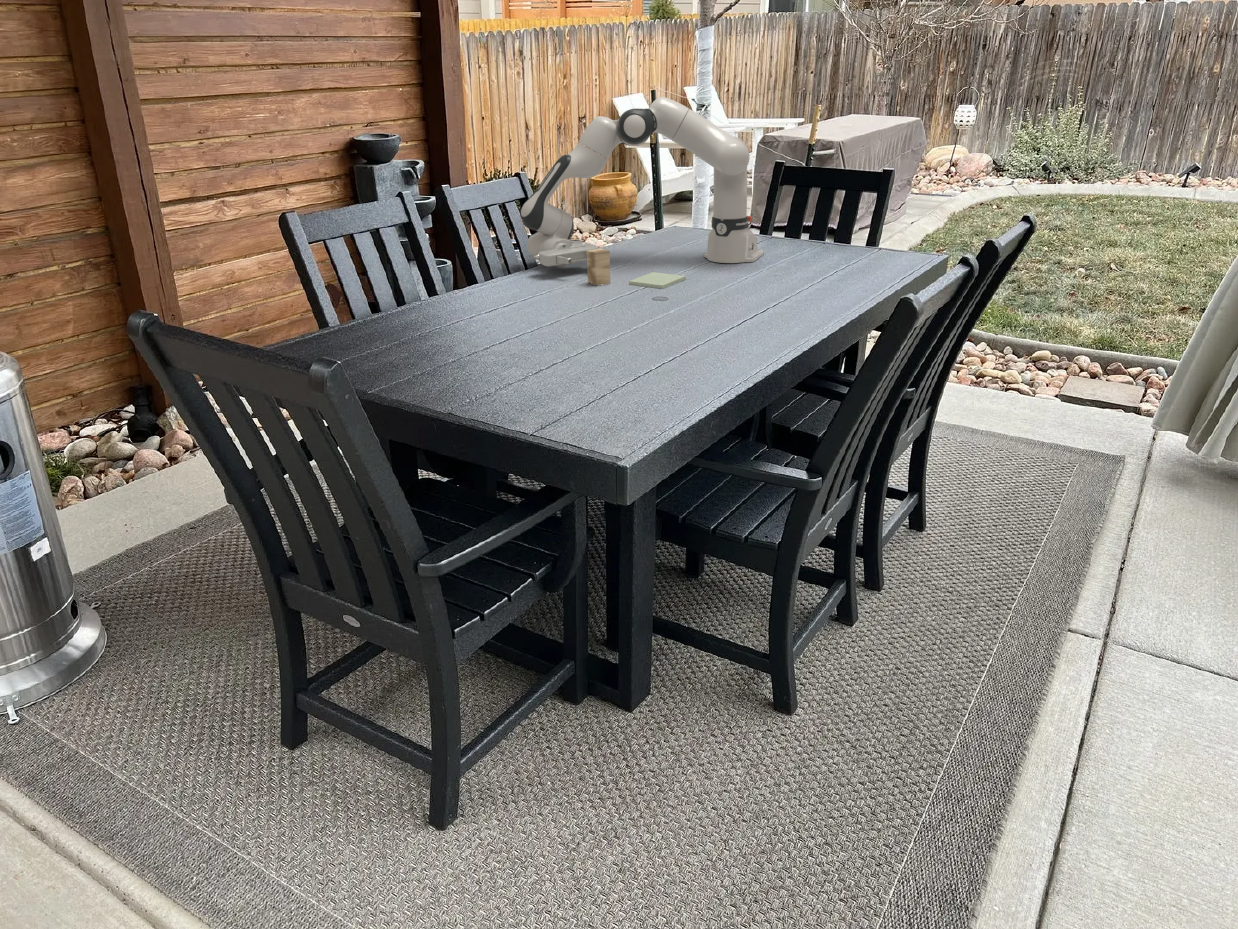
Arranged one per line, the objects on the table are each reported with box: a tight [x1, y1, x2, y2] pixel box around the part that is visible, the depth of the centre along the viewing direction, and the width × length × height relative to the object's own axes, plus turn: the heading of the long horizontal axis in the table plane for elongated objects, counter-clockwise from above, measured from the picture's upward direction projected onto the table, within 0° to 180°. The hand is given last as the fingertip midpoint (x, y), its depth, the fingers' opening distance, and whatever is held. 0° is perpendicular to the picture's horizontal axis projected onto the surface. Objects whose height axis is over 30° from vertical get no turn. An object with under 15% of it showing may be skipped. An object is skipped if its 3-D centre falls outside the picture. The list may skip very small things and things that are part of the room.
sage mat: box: [628, 271, 687, 290], centre depth 284 cm, size 14×12×1 cm
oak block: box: [586, 248, 611, 286], centre depth 282 cm, size 5×5×10 cm
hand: (582, 259), depth 289 cm, fingers open, 8 cm apart
